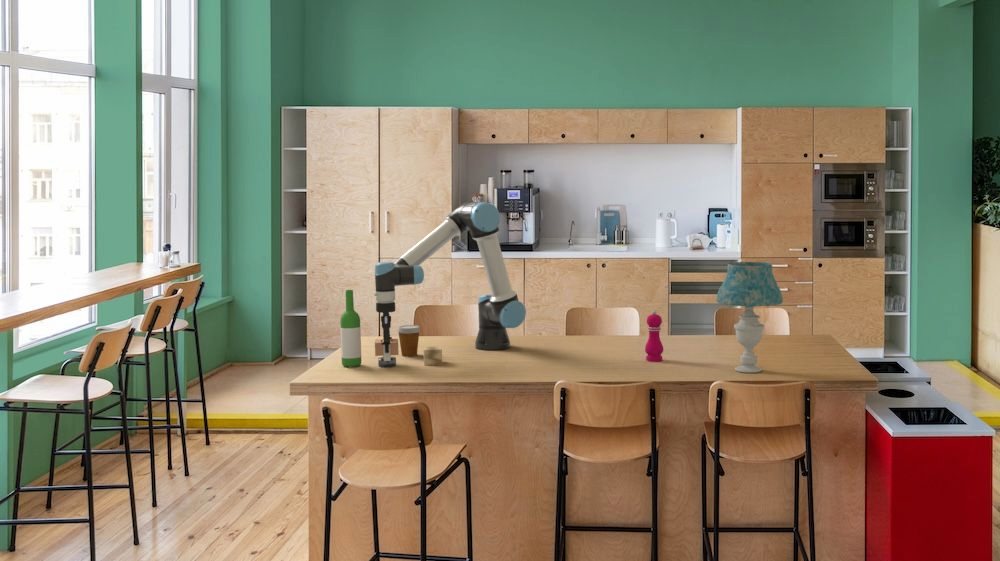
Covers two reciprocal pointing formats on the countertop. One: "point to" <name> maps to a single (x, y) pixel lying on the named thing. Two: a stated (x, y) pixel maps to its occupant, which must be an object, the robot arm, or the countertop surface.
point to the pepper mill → (654, 338)
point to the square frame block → (380, 347)
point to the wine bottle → (350, 334)
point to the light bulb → (386, 362)
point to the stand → (432, 355)
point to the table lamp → (749, 304)
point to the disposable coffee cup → (409, 339)
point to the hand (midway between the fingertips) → (387, 358)
